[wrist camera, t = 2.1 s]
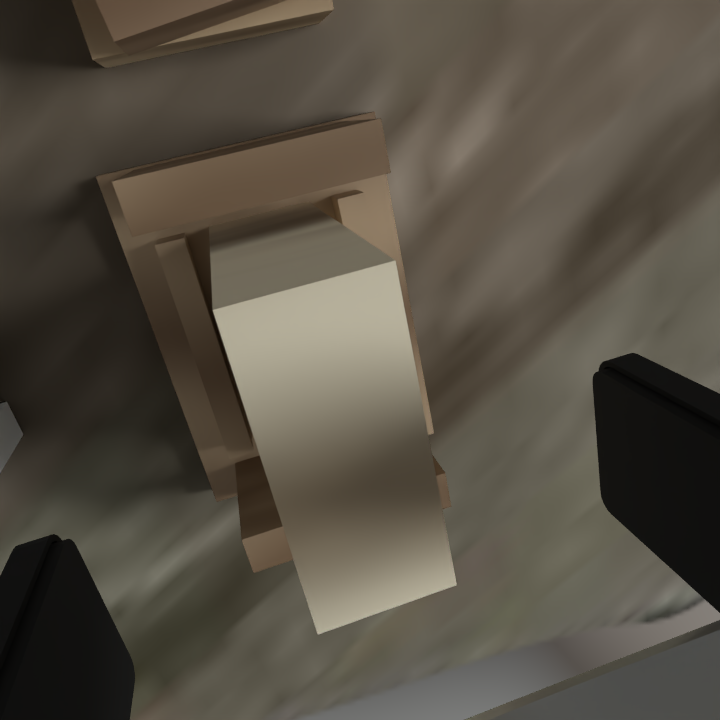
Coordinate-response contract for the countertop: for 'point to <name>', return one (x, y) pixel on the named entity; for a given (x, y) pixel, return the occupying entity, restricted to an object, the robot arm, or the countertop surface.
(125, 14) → the offcut
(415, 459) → the block
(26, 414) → the countertop surface
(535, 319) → the countertop surface
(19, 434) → the holder
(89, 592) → the robot arm
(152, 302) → the frame
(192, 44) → the offcut
